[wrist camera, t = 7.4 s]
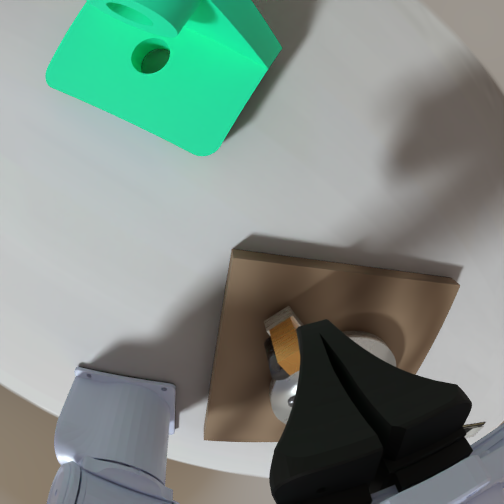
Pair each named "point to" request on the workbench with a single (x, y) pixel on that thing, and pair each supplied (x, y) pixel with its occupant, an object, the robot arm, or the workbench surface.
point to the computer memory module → (472, 429)
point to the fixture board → (309, 311)
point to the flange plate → (289, 357)
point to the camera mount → (175, 71)
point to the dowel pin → (274, 362)
